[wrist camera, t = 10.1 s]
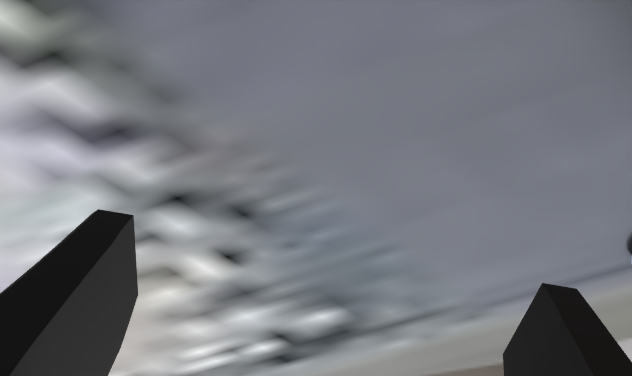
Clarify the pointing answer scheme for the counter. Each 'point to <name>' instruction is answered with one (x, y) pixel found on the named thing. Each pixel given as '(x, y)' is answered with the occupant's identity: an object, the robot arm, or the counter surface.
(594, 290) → the counter surface
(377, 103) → the counter surface
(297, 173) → the counter surface
